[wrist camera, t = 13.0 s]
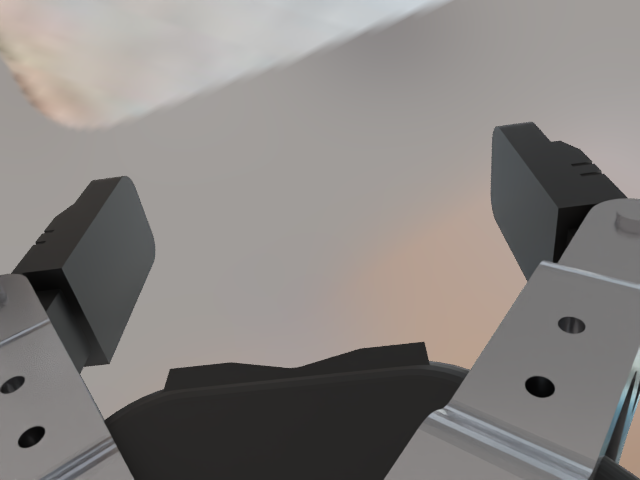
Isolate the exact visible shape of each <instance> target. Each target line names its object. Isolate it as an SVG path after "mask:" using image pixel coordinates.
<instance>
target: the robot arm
mask: <svg viewBox="0 0 640 480" xmlns="http://www.w3.org/2000/svg"><path fill="white" fill-rule="evenodd" d="M491 169H492V170H491V204H492V210H493V214H494V218H495V220H496V222H497V224H498V226H499V228H500V230H501V232H502V234H503V236H504V238H505V239H506V241H507V243H508V245H509V247H510V249H511V251H512V252H513V255H514V257H515V259H516V261H517V262H518V264H519V266H520V268H521V270H522V272H523V274H524V276H525V277H526V280H527V284H526V285H525V287H524V289H523V290H522V291H521V293H520V294H519V296H518V297H517V299H516V301H515V302H514V304H513V305H512V307H511V308H510V310H509V311H508V313H507V314H506V316H505V318H504V319H503V320H502V322H501V324H500V325H499V327H498V328H497V330H496V332H495V333H494V334H493V336H492V337H491V339H490V341H489V342H488V344H487V345H486V347H485V348H484V350H483V351H482V353H481V354H480V356H479V357H478V359H477V360H476V362H475V364H474V365H473V367H472V368H471V370H469V369H465V368H462V367H459V366H455V365H451V364H445V363H441V362H433V361H429V360H428V356H427V351H426V347H425V343H424V342H418V343H409V344H400V345H390V346H382V347H372V348H362V349H358V350H354V351H351V352H348V353H345V354H341V355H338V356H335V357H331V358H328V359H325V360H321V361H318V362H315V363H312V364H308V365H305V366H302V367H298V368H282V367H271V366H261V365H251V364H240V363H222V364H213V365H203V366H193V367H185V368H175V369H170V371H169V375H168V378H167V381H166V384H165V388H164V389H163V390H160V391H157V392H155V393H152V394H150V395H147V396H145V397H142V398H140V399H138V400H136V401H134V402H132V403H131V404H129V405H127V406H125V407H124V408H122V409H120V410H119V411H117V412H116V413H114V414H113V415H111V416H110V417H109V418H107V419H106V420H104V418H103V416H102V414H101V412H100V410H99V409H98V407H97V405H96V403H95V402H94V399H93V398H92V396H91V394H90V392H89V390H88V388H87V386H86V384H85V383H84V381H83V379H82V377H81V375H80V373H81V371H82V369H83V367H86V366H95V365H104V364H110V361H111V359H112V357H113V354H114V352H115V350H116V348H117V345H118V343H119V341H120V338H121V336H122V334H123V331H124V329H125V326H126V324H127V322H128V320H129V317H130V315H131V313H132V311H133V308H134V306H135V304H136V301H137V299H138V297H139V295H140V292H141V290H142V288H143V285H144V283H145V281H146V278H147V276H148V273H149V271H150V269H151V267H152V264H153V262H154V259H155V243H154V238H153V234H152V232H151V229H150V226H149V224H148V221H147V218H146V215H145V213H144V210H143V207H142V205H141V202H140V199H139V196H138V194H137V191H136V188H135V186H134V184H133V182H132V181H131V179H130V178H129V177H127V176H121V177H114V178H106V179H99V180H93V181H91V183H90V184H89V185H88V186H87V188H86V189H85V190H84V192H83V193H82V194H81V196H80V197H79V198H78V199H77V201H76V202H75V203H74V204H73V205H72V206H70V207H69V208H67V209H66V210H65V211H63V212H62V213H60V214H59V215H58V216H56V217H55V218H54V219H53V221H52V222H51V223H50V224H49V226H48V227H47V228H46V229H45V231H44V232H45V233H44V234H42V235H41V236H40V237H39V238H38V240H37V241H36V245H33V246H32V247H31V249H30V250H29V251H28V252H27V254H26V255H25V256H24V258H23V259H22V260H21V261H20V263H19V264H18V265H17V267H16V268H15V269H14V270H13V272H12V273H11V274H5V275H0V480H640V479H639V478H638V477H636V476H635V475H633V474H632V473H631V472H629V471H627V470H626V469H625V468H623V467H622V466H620V465H619V461H620V457H621V454H622V450H623V447H624V444H625V440H626V437H627V434H628V431H629V428H630V425H631V422H632V419H633V416H634V413H635V410H636V407H637V405H638V401H639V398H640V199H631V198H627V197H626V196H625V195H624V194H623V193H622V192H621V191H620V190H619V189H618V188H617V187H616V186H615V185H614V183H612V181H610V179H609V178H608V177H607V176H606V175H604V174H602V173H601V170H600V169H599V168H598V167H597V166H596V165H595V164H592V161H591V160H590V159H589V158H588V157H587V156H586V155H585V154H584V153H583V152H582V151H581V150H580V149H578V148H575V147H573V146H571V145H568V144H566V143H564V142H562V141H554V142H550V141H549V139H548V138H547V137H546V136H545V135H544V134H543V133H542V131H541V130H539V128H538V127H537V126H536V125H535V124H534V123H533V122H526V123H519V124H512V125H504V126H497V127H495V129H494V131H493V137H492V166H491Z"/></svg>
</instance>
